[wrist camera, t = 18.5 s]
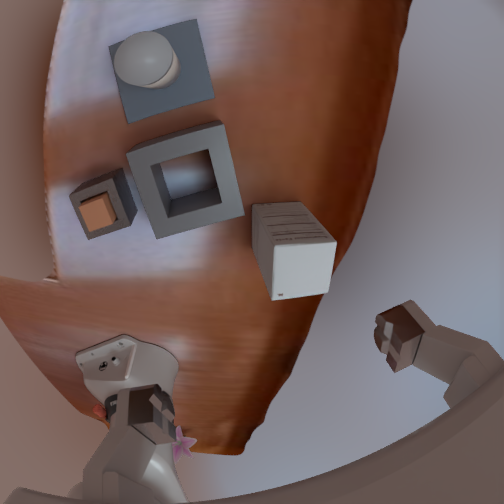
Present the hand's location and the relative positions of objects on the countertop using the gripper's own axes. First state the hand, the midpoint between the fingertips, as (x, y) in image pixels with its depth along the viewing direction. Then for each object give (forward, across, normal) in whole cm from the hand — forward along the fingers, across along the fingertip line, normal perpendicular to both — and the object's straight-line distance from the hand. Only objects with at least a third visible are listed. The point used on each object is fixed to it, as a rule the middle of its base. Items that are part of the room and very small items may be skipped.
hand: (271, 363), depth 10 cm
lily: (+34, +32, +68) cm, 82 cm away
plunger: (+31, +14, 0) cm, 34 cm away
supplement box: (+32, -7, +11) cm, 34 cm away
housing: (+31, +3, 0) cm, 32 cm away
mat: (+31, +2, -14) cm, 34 cm away
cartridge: (+30, +2, -14) cm, 33 cm away
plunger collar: (+32, +14, 0) cm, 35 cm away
